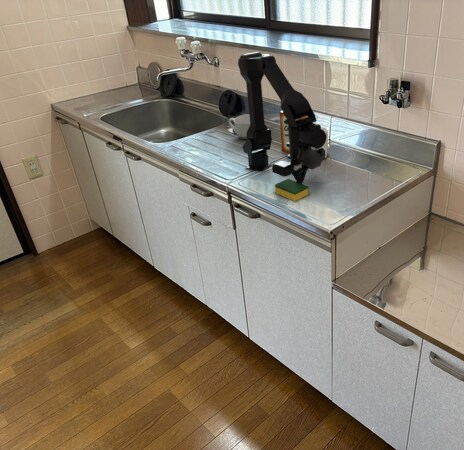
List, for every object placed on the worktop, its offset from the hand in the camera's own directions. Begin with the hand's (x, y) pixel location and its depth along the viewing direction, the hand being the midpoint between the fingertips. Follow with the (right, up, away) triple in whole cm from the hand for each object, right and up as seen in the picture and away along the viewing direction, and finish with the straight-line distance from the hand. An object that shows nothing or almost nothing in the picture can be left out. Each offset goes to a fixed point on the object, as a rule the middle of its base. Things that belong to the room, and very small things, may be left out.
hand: (300, 185), depth 153 cm
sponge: (-3, -3, -2) cm, 4 cm away
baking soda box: (0, +16, +30) cm, 34 cm away
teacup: (-22, +28, +45) cm, 58 cm away
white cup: (+7, +13, +24) cm, 28 cm away
